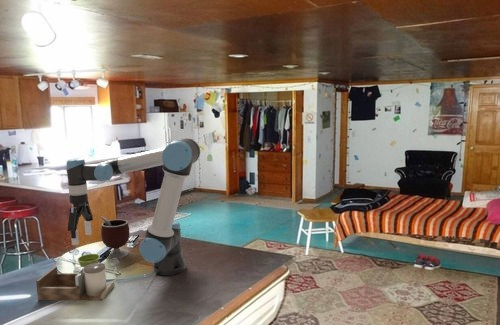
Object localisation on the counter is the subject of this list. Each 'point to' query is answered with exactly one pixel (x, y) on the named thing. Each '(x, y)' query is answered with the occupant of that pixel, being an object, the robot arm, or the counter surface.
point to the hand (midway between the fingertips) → (82, 239)
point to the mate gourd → (115, 236)
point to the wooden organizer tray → (64, 287)
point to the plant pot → (88, 259)
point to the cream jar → (95, 279)
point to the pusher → (80, 279)
